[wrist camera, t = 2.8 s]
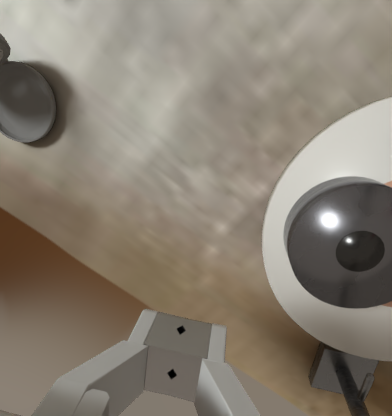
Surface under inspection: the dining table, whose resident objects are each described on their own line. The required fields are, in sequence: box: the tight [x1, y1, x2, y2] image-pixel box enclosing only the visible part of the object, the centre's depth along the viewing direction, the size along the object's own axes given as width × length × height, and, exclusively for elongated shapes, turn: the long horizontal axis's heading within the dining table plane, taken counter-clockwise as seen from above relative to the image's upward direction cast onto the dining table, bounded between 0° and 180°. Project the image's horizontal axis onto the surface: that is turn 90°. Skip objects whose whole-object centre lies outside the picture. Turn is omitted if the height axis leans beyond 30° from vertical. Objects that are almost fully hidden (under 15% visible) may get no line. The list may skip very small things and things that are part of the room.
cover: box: [283, 176, 392, 309], centre depth 20 cm, size 9×9×3 cm
